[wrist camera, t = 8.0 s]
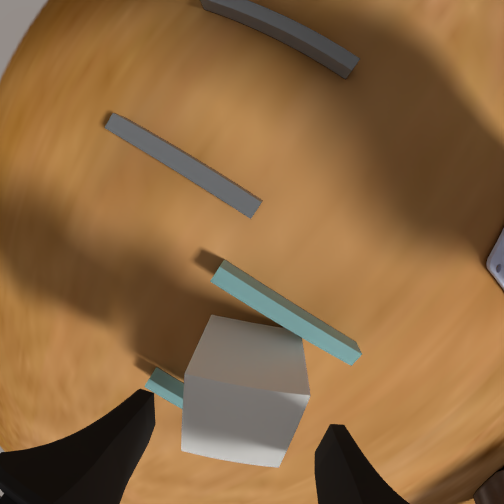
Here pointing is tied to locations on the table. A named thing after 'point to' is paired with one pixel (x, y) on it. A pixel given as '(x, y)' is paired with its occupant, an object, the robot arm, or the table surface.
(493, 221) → the table surface
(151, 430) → the robot arm
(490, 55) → the table surface
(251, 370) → the grey cube
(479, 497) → the plant pot
